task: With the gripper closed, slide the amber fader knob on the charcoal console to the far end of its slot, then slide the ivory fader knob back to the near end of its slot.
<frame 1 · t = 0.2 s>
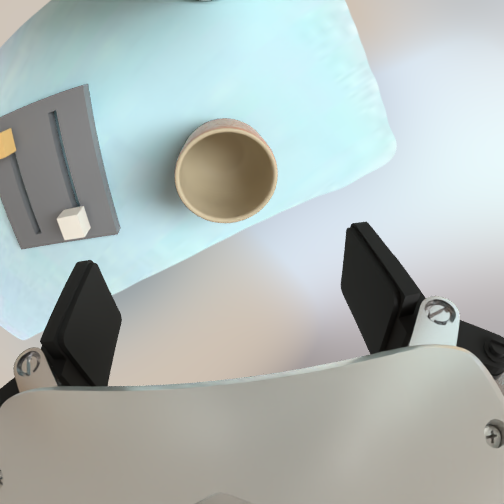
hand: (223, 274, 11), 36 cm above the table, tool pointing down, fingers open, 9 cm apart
amber fader: (4, 143, 34), point 3 cm above the table, slide at 0.0 cm
ivory fader: (76, 219, 44), point 3 cm above the table, slide at 16.0 cm
planter: (223, 152, 45), on the table
console: (47, 173, 42), on the table
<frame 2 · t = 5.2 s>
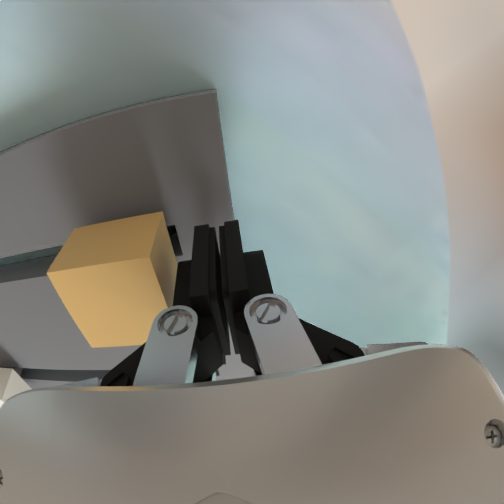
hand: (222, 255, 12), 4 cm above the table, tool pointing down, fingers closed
amber fader: (128, 264, 12), point 3 cm above the table, slide at 0.1 cm, touching gripper
ivory fader: (10, 384, 17), point 3 cm above the table, slide at 16.0 cm
console: (60, 309, 18), on the table
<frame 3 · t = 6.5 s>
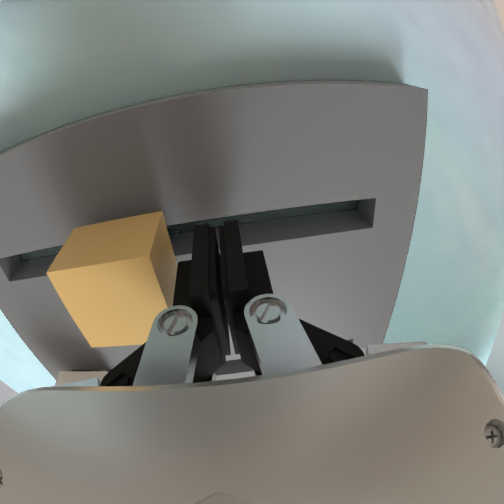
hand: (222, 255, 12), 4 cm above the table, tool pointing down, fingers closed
amber fader: (128, 264, 12), point 3 cm above the table, slide at 9.2 cm, touching gripper
ivory fader: (94, 390, 18), point 3 cm above the table, slide at 16.0 cm
console: (186, 295, 18), on the table
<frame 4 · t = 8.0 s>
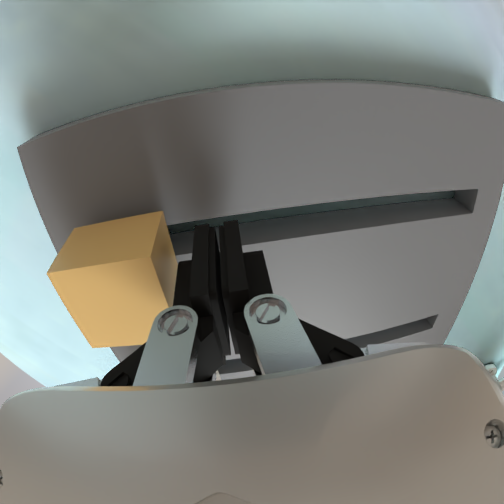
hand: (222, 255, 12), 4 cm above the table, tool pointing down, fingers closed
amber fader: (128, 264, 12), point 3 cm above the table, slide at 16.3 cm, touching gripper
ivory fader: (190, 387, 18), point 3 cm above the table, slide at 16.0 cm
console: (305, 277, 18), on the table
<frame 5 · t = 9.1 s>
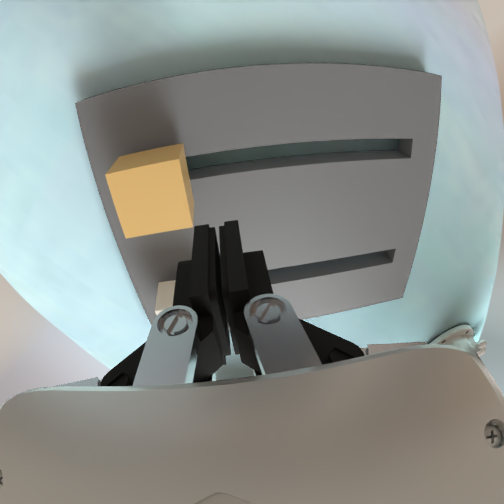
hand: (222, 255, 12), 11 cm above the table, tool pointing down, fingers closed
amber fader: (156, 181, 18), point 3 cm above the table, slide at 16.0 cm
ivory fader: (189, 300, 24), point 3 cm above the table, slide at 16.0 cm
console: (280, 208, 24), on the table
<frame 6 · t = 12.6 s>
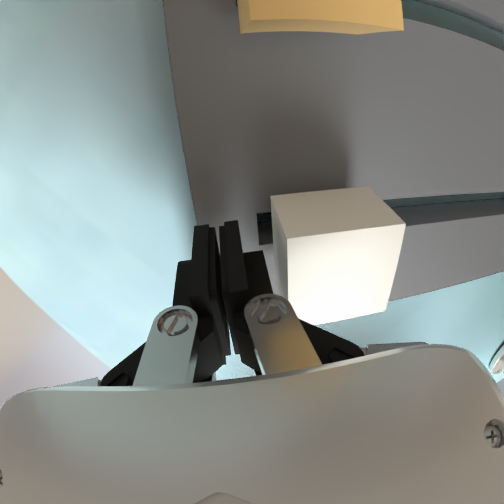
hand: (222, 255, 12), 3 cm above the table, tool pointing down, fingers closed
ivory fader: (322, 238, 12), point 3 cm above the table, slide at 15.5 cm, touching gripper
console: (435, 107, 12), on the table
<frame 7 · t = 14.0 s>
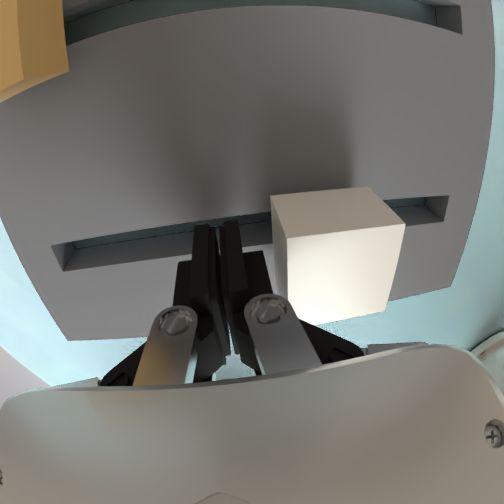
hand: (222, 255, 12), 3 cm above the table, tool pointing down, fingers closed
amber fader: (15, 43, 6), point 3 cm above the table, slide at 16.0 cm
ivory fader: (322, 238, 12), point 3 cm above the table, slide at 5.6 cm, touching gripper
console: (245, 106, 12), on the table
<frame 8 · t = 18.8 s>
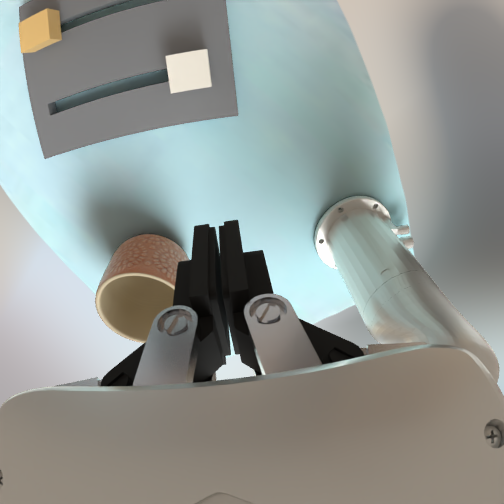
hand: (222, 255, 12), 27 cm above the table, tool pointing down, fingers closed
amber fader: (45, 31, 21), point 3 cm above the table, slide at 16.0 cm
ivory fader: (190, 70, 27), point 3 cm above the table, slide at 0.0 cm
planter: (154, 258, 44), on the table
console: (120, 46, 27), on the table
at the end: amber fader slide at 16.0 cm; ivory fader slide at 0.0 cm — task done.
